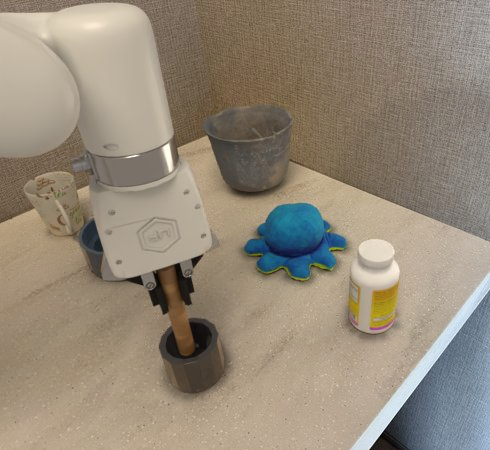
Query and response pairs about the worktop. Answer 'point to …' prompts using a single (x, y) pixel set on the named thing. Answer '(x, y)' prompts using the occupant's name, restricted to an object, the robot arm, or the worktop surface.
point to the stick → (176, 309)
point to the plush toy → (295, 241)
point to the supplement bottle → (373, 287)
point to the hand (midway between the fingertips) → (174, 300)
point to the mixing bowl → (91, 246)
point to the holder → (194, 358)
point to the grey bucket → (251, 145)
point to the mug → (56, 202)
